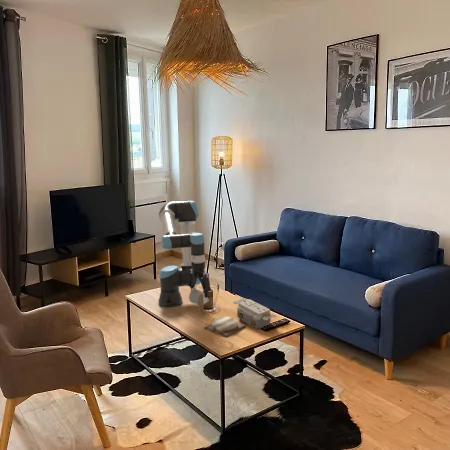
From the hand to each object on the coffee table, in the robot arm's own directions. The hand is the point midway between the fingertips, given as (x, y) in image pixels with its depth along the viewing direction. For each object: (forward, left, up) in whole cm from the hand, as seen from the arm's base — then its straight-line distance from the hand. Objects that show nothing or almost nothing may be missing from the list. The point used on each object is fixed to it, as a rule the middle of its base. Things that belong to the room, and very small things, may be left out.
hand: (199, 300), depth 250 cm
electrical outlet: (+21, +22, -15) cm, 34 cm away
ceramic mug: (0, +1, -2) cm, 2 cm away
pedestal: (+13, +6, -15) cm, 20 cm away
